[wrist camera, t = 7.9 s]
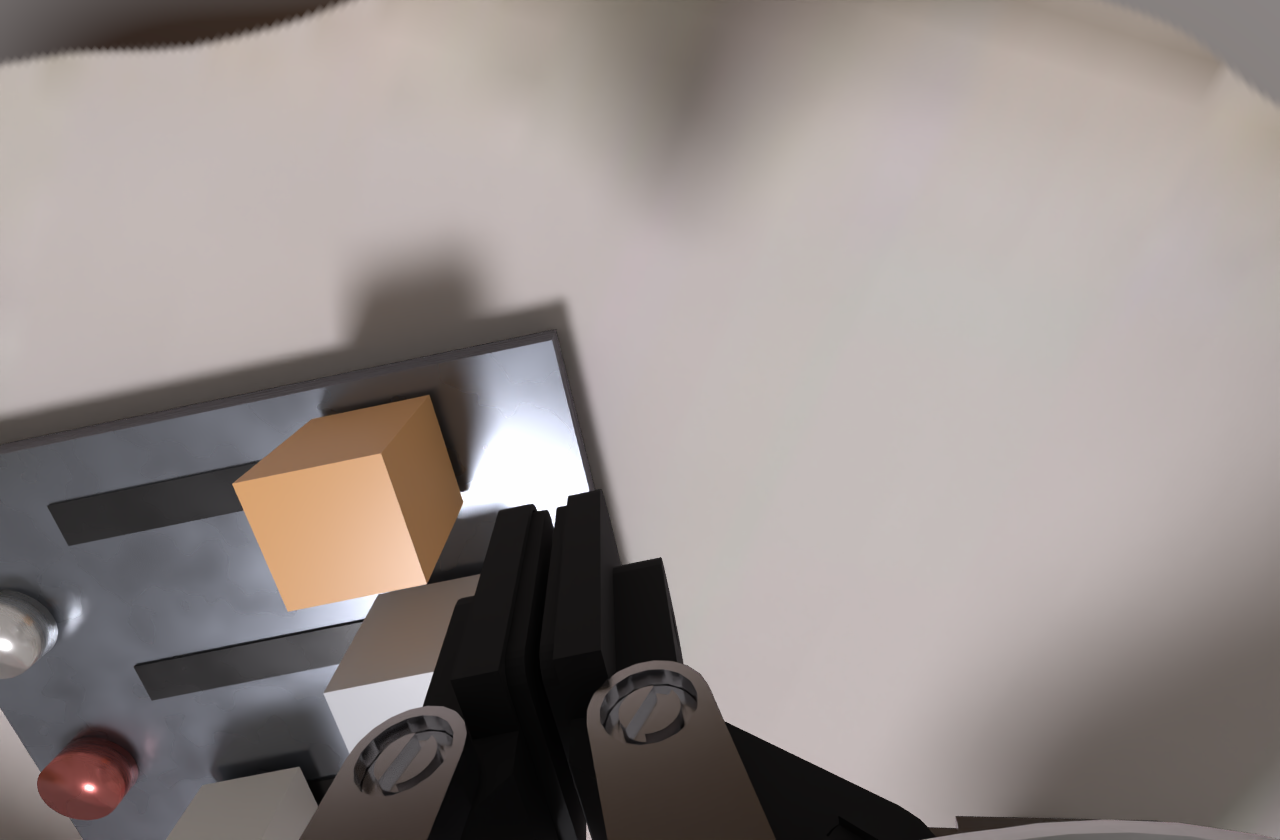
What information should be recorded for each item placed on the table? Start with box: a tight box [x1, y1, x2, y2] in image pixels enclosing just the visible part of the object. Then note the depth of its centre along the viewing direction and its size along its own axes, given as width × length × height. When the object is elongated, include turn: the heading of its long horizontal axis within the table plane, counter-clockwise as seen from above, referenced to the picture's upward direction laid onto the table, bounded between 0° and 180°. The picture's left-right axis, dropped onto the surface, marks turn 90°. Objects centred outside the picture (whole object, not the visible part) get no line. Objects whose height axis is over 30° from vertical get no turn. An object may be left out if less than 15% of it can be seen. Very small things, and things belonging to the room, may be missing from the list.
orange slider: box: [232, 395, 464, 612], centre depth 19 cm, size 4×4×4 cm
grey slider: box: [323, 574, 480, 754], centre depth 21 cm, size 4×4×4 cm
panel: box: [0, 329, 595, 840], centre depth 23 cm, size 21×17×2 cm
